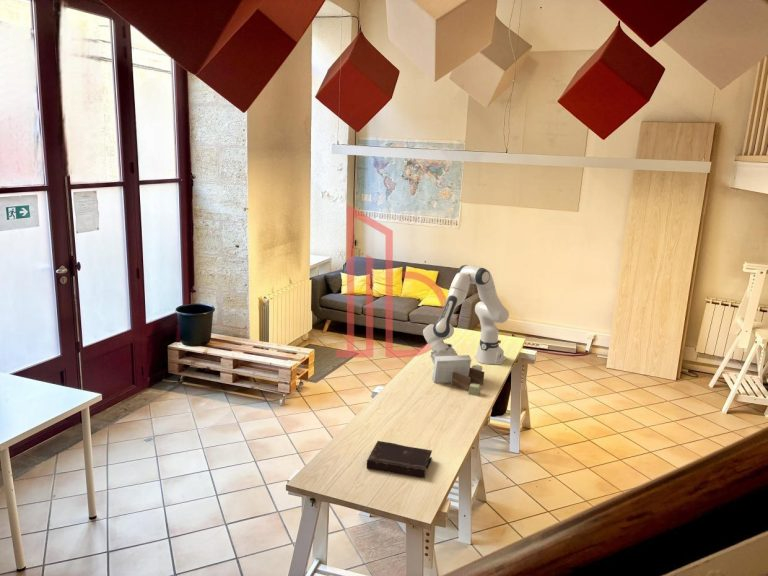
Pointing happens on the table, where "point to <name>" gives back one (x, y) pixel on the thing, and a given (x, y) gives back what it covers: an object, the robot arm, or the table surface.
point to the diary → (399, 459)
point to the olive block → (474, 389)
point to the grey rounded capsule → (477, 367)
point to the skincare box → (450, 367)
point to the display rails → (468, 379)
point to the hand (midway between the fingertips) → (451, 369)
